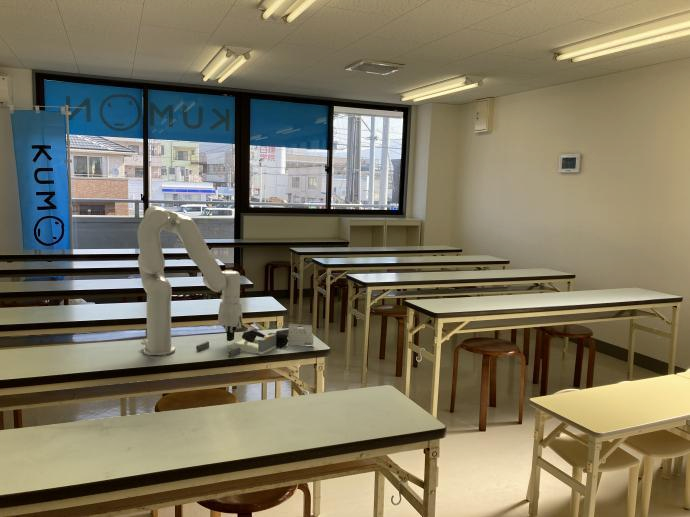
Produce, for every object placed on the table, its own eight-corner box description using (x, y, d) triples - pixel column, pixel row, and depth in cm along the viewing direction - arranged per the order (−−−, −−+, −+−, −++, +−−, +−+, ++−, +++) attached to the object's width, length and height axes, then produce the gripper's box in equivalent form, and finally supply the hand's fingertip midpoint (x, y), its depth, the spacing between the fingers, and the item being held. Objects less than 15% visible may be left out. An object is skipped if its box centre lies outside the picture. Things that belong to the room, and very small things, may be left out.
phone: (288, 329, 279) (307, 334, 268) (288, 331, 279) (307, 337, 268) (275, 331, 274) (294, 337, 263) (275, 333, 274) (294, 339, 263)
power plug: (272, 339, 249) (247, 329, 245) (264, 354, 249) (239, 344, 245) (270, 335, 255) (245, 325, 250) (262, 350, 255) (237, 341, 250)
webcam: (288, 345, 255) (289, 333, 254) (281, 349, 250) (281, 336, 249) (271, 342, 259) (271, 330, 258) (263, 345, 254) (263, 333, 253)
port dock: (228, 348, 248) (228, 333, 247) (243, 341, 258) (243, 327, 257) (262, 354, 241) (262, 339, 240) (276, 347, 251) (276, 333, 250)
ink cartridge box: (289, 343, 258) (289, 322, 257) (313, 345, 256) (314, 324, 255) (287, 345, 255) (288, 323, 254) (312, 347, 253) (312, 325, 252)
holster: (196, 350, 243) (196, 345, 242) (206, 346, 249) (206, 341, 249) (230, 357, 236) (230, 351, 235) (240, 353, 242) (240, 347, 241)
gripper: (211, 298, 251) (211, 339, 253) (239, 303, 244) (239, 345, 247) (222, 295, 257) (221, 335, 260) (250, 300, 251) (249, 340, 254)
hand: (230, 340), depth 254 cm, fingers closed
